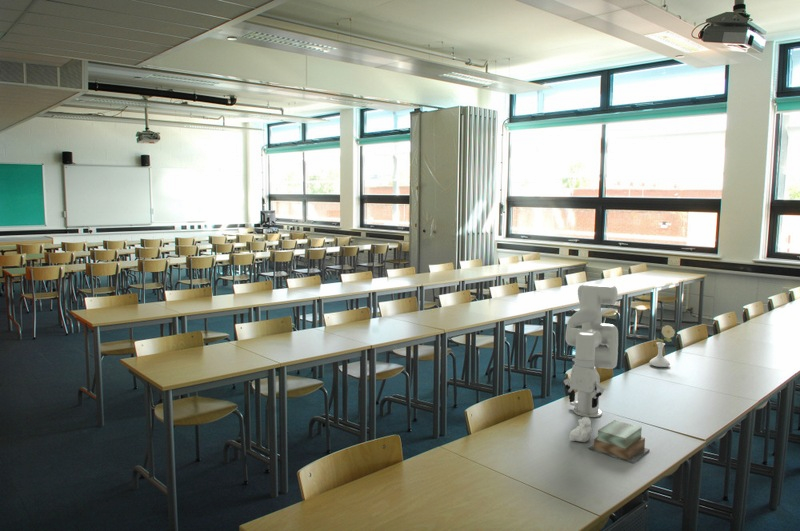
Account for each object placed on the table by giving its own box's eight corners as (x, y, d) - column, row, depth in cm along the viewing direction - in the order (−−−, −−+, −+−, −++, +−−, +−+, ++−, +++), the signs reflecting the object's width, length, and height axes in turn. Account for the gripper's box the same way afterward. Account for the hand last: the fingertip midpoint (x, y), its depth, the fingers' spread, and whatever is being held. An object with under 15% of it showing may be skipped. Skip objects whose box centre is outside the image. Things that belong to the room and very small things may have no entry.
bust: (572, 449, 237) (587, 433, 230) (560, 433, 241) (575, 417, 234) (591, 442, 243) (606, 427, 237) (579, 427, 248) (594, 411, 241)
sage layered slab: (588, 449, 231) (589, 427, 230) (605, 438, 242) (606, 417, 241) (633, 463, 219) (634, 440, 218) (649, 451, 230) (650, 429, 229)
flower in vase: (650, 367, 344) (652, 326, 341) (648, 362, 355) (650, 322, 352) (674, 369, 340) (676, 327, 337) (671, 364, 351) (673, 323, 348)
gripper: (560, 360, 239) (559, 401, 241) (600, 368, 227) (599, 411, 229) (569, 357, 245) (568, 397, 246) (609, 365, 233) (607, 407, 234)
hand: (583, 404), depth 238 cm, fingers open, 9 cm apart
